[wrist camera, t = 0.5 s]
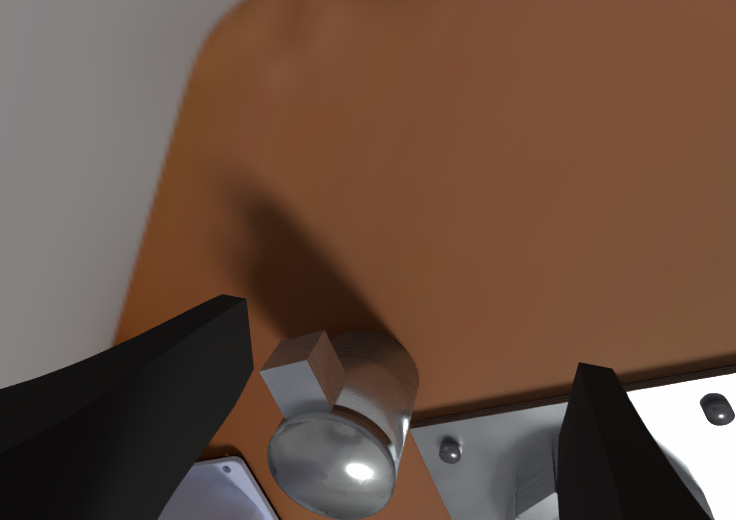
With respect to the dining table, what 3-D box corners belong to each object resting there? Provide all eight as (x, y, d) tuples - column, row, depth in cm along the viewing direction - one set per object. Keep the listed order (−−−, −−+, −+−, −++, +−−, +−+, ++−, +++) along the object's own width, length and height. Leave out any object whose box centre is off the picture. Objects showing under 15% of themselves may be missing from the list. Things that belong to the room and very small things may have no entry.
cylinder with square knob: (343, 424, 27) (301, 525, 22) (282, 307, 25) (220, 387, 20) (435, 407, 25) (414, 512, 20) (379, 279, 23) (338, 359, 18)
